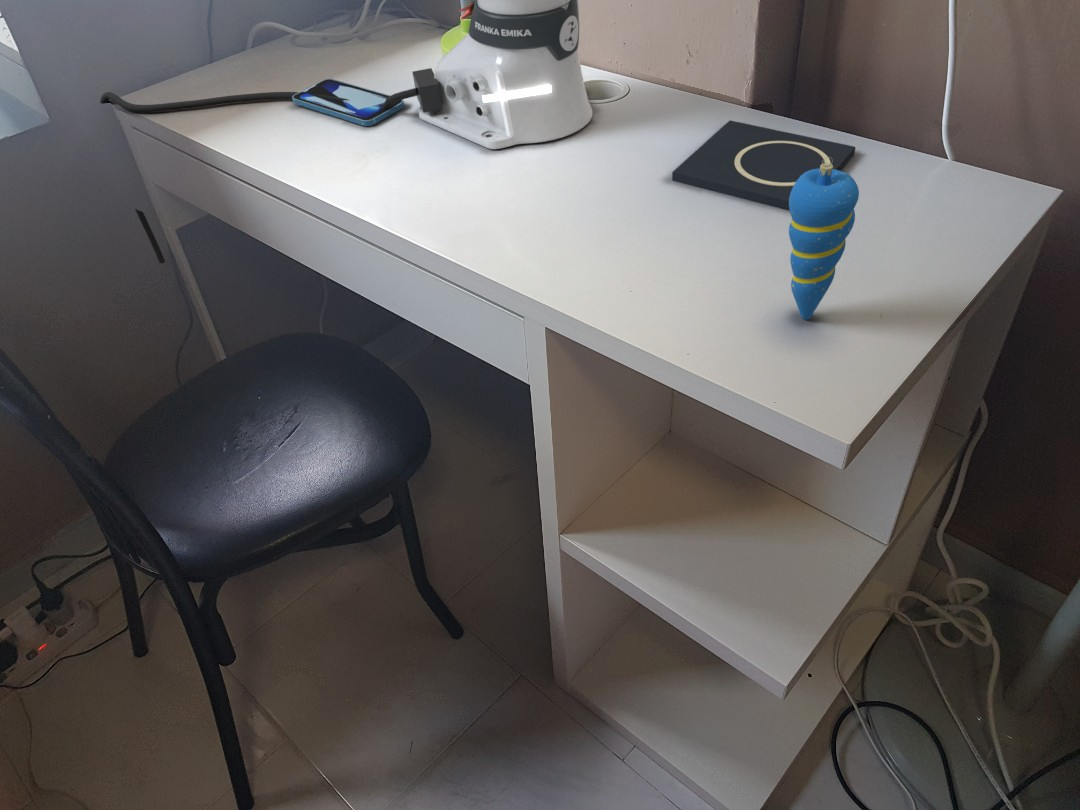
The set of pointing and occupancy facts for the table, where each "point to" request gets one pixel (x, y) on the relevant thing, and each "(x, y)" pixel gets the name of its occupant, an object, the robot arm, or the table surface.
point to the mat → (758, 162)
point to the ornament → (819, 231)
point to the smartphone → (346, 102)
